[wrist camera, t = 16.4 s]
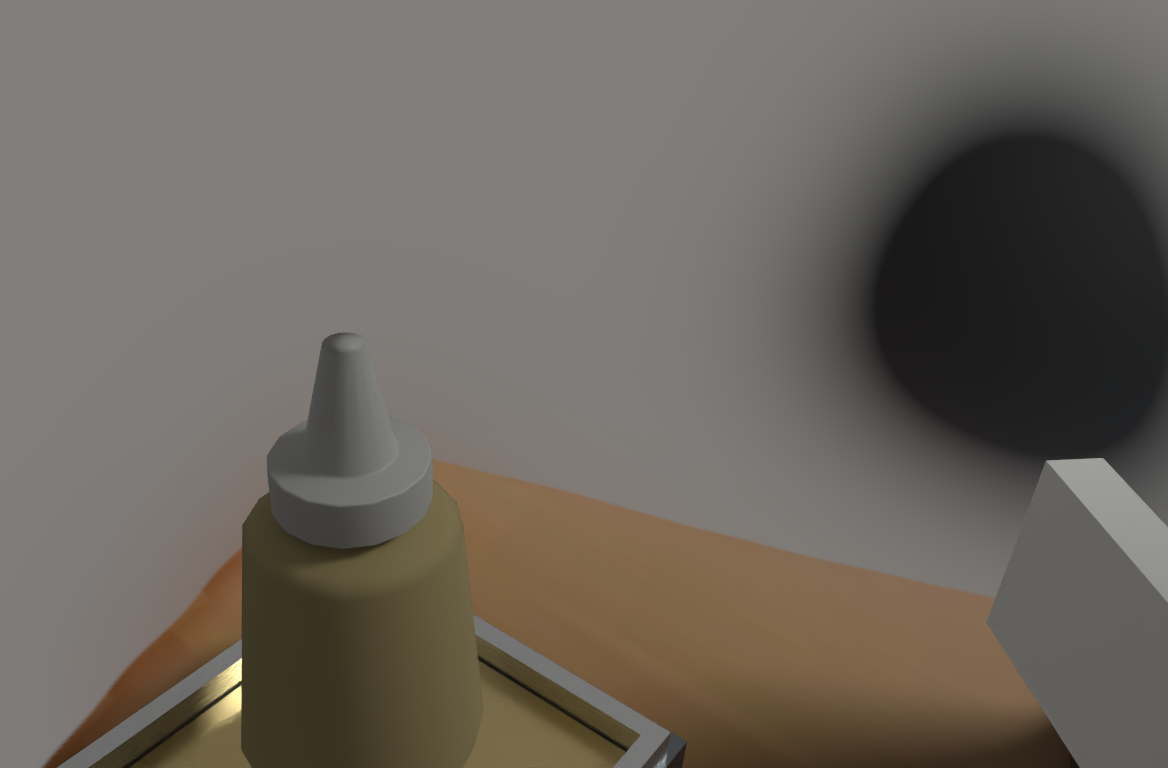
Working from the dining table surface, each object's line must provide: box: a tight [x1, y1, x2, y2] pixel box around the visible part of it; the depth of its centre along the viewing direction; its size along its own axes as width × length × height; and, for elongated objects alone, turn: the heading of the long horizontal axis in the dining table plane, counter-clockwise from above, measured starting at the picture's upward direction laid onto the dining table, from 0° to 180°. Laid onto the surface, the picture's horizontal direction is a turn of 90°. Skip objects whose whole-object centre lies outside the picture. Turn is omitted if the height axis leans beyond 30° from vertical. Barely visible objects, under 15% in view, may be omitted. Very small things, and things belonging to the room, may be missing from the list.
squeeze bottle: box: [241, 333, 484, 768], centre depth 33 cm, size 8×8×18 cm
